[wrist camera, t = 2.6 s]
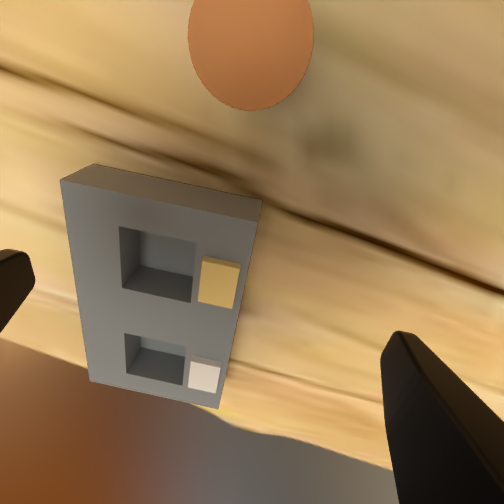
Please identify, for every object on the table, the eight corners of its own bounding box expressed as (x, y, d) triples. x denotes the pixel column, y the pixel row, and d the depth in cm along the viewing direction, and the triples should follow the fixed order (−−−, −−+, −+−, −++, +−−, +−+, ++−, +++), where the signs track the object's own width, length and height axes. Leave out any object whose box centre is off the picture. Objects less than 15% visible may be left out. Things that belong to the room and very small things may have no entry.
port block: (262, 200, 18) (256, 226, 15) (225, 375, 26) (216, 415, 23) (93, 163, 18) (52, 182, 15) (109, 350, 26) (86, 386, 23)
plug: (312, 21, 13) (330, -28, 7) (295, 97, 15) (295, 121, 8) (244, 6, 13) (193, -57, 7) (234, 84, 15) (183, 97, 8)
